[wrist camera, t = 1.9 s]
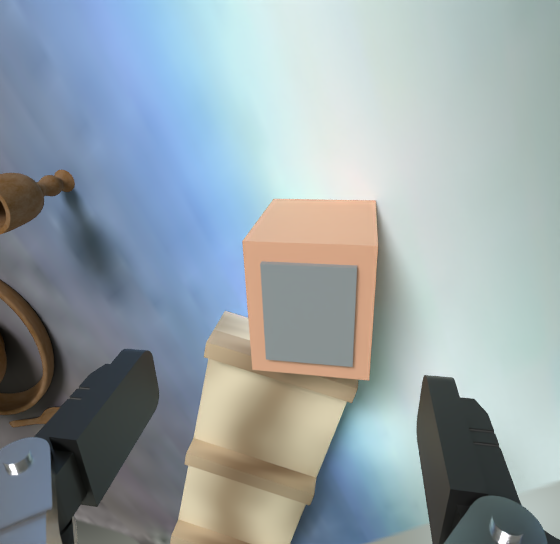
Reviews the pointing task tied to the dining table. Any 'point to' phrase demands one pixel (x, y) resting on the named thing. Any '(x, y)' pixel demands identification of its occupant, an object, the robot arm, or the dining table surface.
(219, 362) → the light wooden ridged board
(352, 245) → the frame block
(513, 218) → the dining table surface
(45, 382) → the place setting
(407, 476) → the dining table surface
